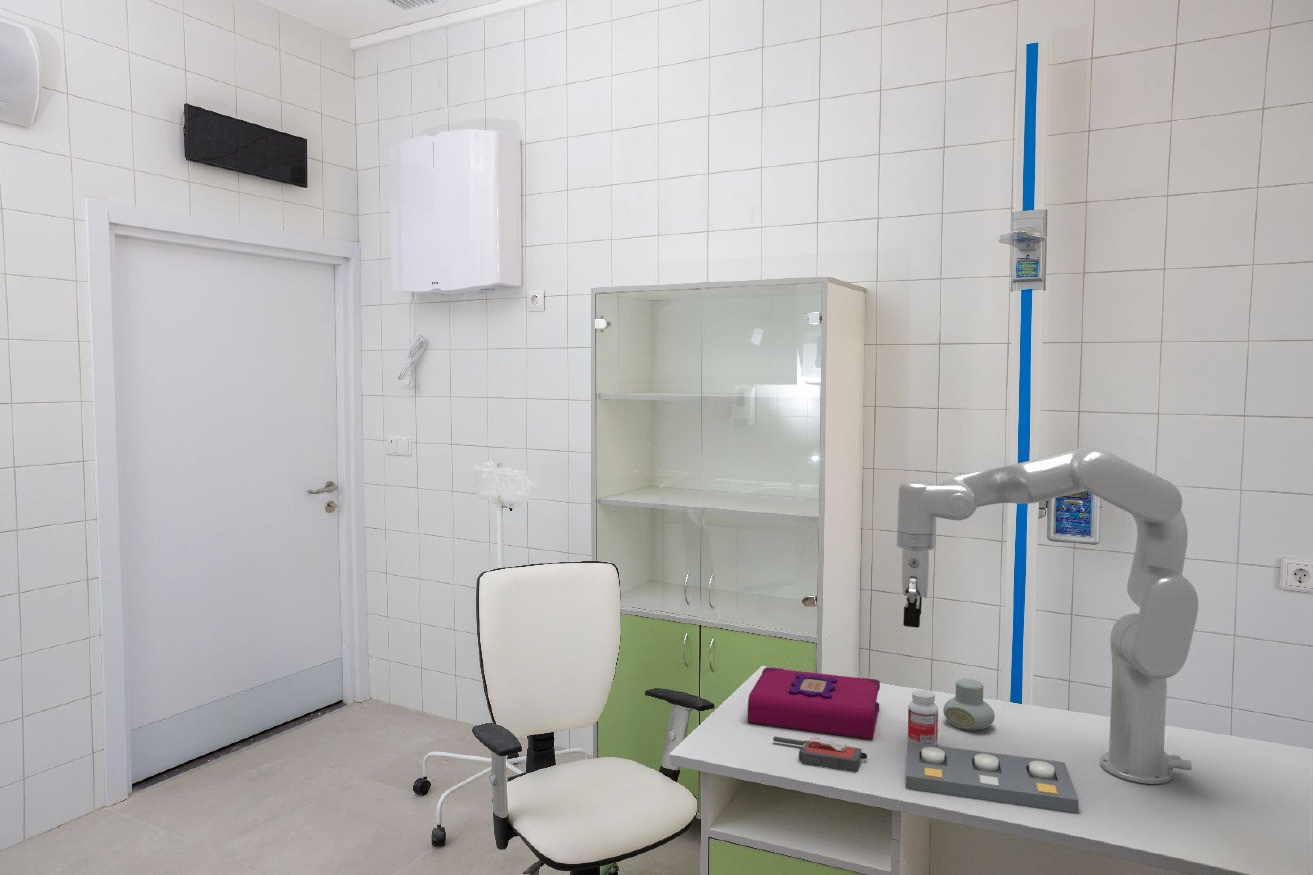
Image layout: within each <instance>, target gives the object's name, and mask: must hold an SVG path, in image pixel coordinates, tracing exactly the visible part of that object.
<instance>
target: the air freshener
mask: <svg viewBox="0 0 1313 875" xmlns="http://www.w3.org/2000/svg"><path fill="white" fill-rule="evenodd" d="M943 715H944V717H945V718H946V719H947V721H948V722H949V723H951V724H952V725H953V726H954V727H957V728H958V729H959V730H962V729H963V731H980V730H985V729H987V728H988V727H990V726H991V725H993V723H994V722H995V718H996V714H995V711H994V709H993V707H991V705H990V704H989V703H987V702H986V701H985V700H984V684H983V683H982V682H980V681H978V680H976V679H974V678H973V679H972V678H960V679H957V680H956V681H955V697H954V696H953V697H952V698H950V699H948V700H947V701H946V702H945V704H944V705H943Z"/></svg>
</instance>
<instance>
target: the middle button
mask: <svg viewBox="0 0 1313 875" xmlns="http://www.w3.org/2000/svg"><path fill="white" fill-rule="evenodd" d="M998 762H999V760H998V759H997V758H996V757H994V756H992V755H989V754H977V755H975V761H974V766H975V768H976V769H978V770H981V771H988V772H997V771H998Z"/></svg>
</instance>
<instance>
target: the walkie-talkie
mask: <svg viewBox="0 0 1313 875" xmlns="http://www.w3.org/2000/svg"><path fill="white" fill-rule="evenodd" d="M772 740H773V742H777V743H782V744H790V745H796V746H802V748H799V749H798V758H799V759H800V760H801V763H802V765H807V766H812V765H813V767H818V766H822V767H821V768H824V767H825V768H826V767H827V769H832V770H833V769H834V770H837V771H842V772H843V771H844V770H846V771H844V772H848V771H849V772H850V771H851V772H850V773H857V772H859V769H860V766H861V763H862V760H866V759H868V754H867V753H865V752H864V751H863V752H862V748H859V747H855V746H847V744H846V743H842V744H837V743H835V741H833V740H832V739H828V738H826V739H825V738H819V737H812V738H810V740H800V739H793V738H788V737H787V738H786V737H780V736H774V737H773V738H772Z"/></svg>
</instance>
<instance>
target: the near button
mask: <svg viewBox="0 0 1313 875" xmlns="http://www.w3.org/2000/svg"><path fill="white" fill-rule="evenodd" d="M1029 774H1030V775H1031V776H1032V777H1034V778H1040V779H1047V780H1052V779H1054V766H1053V765H1051V764H1049V763H1047V762H1043V761H1032V762H1030V763H1029Z"/></svg>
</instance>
